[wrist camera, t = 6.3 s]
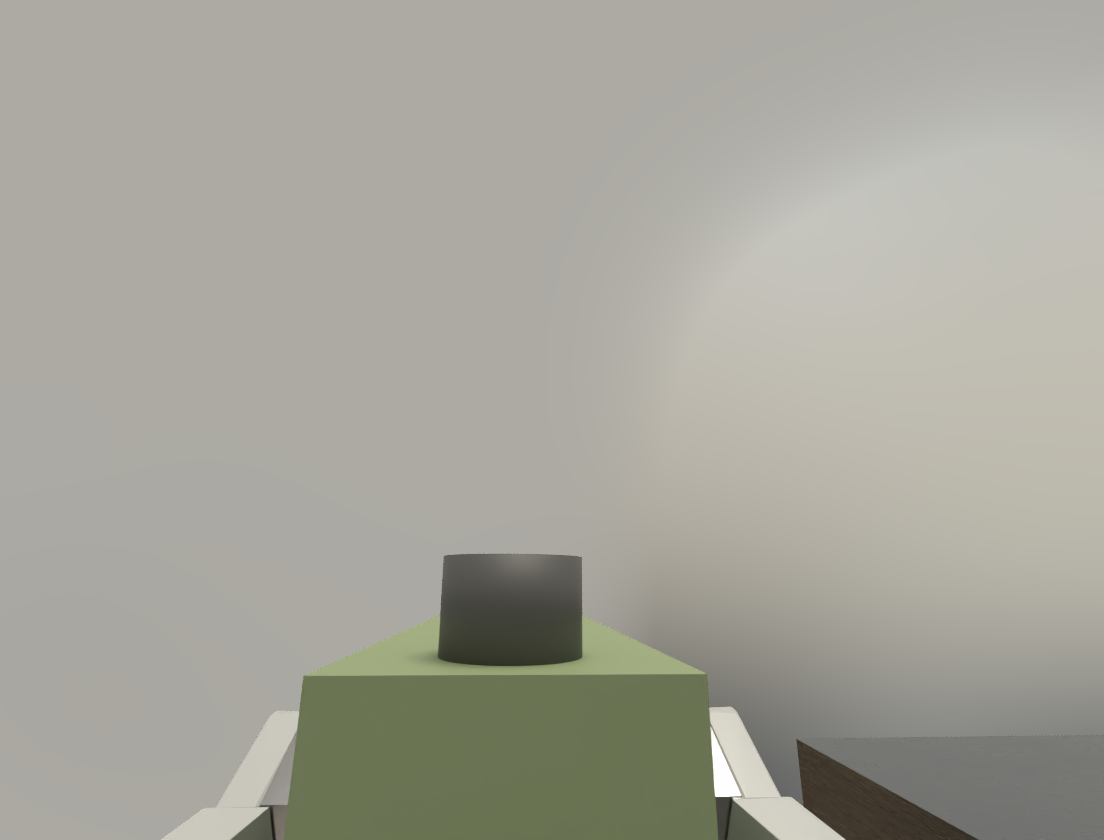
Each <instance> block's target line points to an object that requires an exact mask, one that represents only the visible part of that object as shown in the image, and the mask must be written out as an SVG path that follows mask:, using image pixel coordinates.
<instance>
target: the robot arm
mask: <svg viewBox="0 0 1104 840" xmlns="http://www.w3.org/2000/svg"><path fill="white" fill-rule="evenodd" d="M709 710H710V725H711V740H712V754H713V769H714V783H715V798H716V813H717V827H718V840H845V839H844V838H843V837H842V836H840V835H839V834H838V833H836V832H835V831H834V830H833V829H831V828H830V827H829V826H828V825H826V824H825V823H824V822H822V821H821V820H820V819H819V818H817V817H816V816H815V815H813V814H812V813H811V812H810V811H808V810H807V809H806V808H804V807H803V806H802V805H801V804H799V803H798V802H797V801H796V800H794V799H793V798H792V797H781V796H780V794H779V792H778V790H777V788H776V786H775V785H774V782H773V780H772V779H771V777H770V775H769V773H768V771H767V769H766V767H765V765H764V763H763V761H762V759H761V757H760V755H759V754H758V752H757V750H756V748H755V746H754V744H753V742H752V740H751V738H750V736H749V734H748V733H747V731H746V729H745V727H744V725H743V723H742V721H741V719H740V717H739V715H738V713H737V711H735V710H734V709H733V708H732V707H713V708H709ZM298 718H299V711H276V712H275V713H274V714H272V715H271V716H270V717H269V718H268V719H267V721H266V723H265V724H264V726H263V728H262V729H261V731H260V733H259V734H258V736H257V738H256V740H255V741H254V743H253V744H252V746H251V748H250V749H249V751H248V753H247V755H246V756H245V758H244V760H243V761H242V763H241V765H240V767H239V768H238V770H237V772H236V773H235V775H234V776H233V778H232V780H231V782H230V783H229V785H228V787H227V788H226V790H225V792H224V793H223V795H222V797H221V799H220V800H219V802H218V804H217V805H216V807H215V808H203V809H202V810H201V811H199V812H198V813H197V814H195V815H194V816H192V817H191V818H190V819H188V820H187V821H186V822H184V823H183V824H182V825H180V826H179V827H178V828H176V829H175V830H173V831H172V832H171V833H169V834H168V835H167V836H165V837H164V838H162V839H161V840H283V839H284V831H285V823H286V815H287V807H288V798H289V790H290V782H291V774H292V766H293V758H294V750H295V742H296V734H297V726H298Z"/></svg>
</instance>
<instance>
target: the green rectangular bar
mask: <svg viewBox="0 0 1104 840" xmlns="http://www.w3.org/2000/svg"><path fill="white" fill-rule="evenodd" d="M283 840H718V827H717V813H716V798H715V783H714V769H713V754H712V740H711V725H710V710H709V696H708V682H707V674H706V673H703V672H702V671H699V670H697V669H695V668H693V667H691V666H689V665H687V664H685V663H683V662H680V661H678V660H676V659H674V658H672V657H670V656H668V655H666V654H663V653H662V652H659V651H657V650H655V649H653V648H651V647H649V646H647V645H644V644H642V643H640V642H638V641H636V640H634V639H632V638H630V637H628V636H626V635H624V634H621V633H619V632H617V631H615V630H613V629H611V628H609V627H607V626H604V625H603V624H600V623H598V622H596V621H594V620H592V619H590V618H588V617H586V616H584V615H582V558H581V557H577V556H564V555H542V554H539V555H538V554H460V555H447V556H444V563H443V579H442V595H441V612H440V615H439V616H437V617H435V618H433V619H430V620H428V621H426V622H424V623H421V624H420V625H417V626H415V627H413V628H410V629H408V630H406V631H403V632H401V633H399V634H397V635H394V636H392V637H390V638H388V639H385V640H383V641H381V642H379V643H376V644H374V645H372V646H370V647H368V648H365V649H363V650H361V651H358V652H356V653H354V654H352V655H350V656H347V657H345V658H343V659H340V660H338V661H336V662H334V663H331V664H329V665H327V666H325V667H322V668H320V669H318V670H316V671H313V672H311V673H309V674H307V675H304V677H303V685H302V693H301V702H300V710H299V718H298V726H297V734H296V742H295V750H294V758H293V766H292V774H291V782H290V790H289V798H288V807H287V815H286V823H285V831H284V839H283Z"/></svg>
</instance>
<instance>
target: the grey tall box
mask: <svg viewBox="0 0 1104 840" xmlns="http://www.w3.org/2000/svg"><path fill="white" fill-rule="evenodd" d="M796 740H797V749H798V758H799V767H800V777H801V786H802V795H803V805H804V808H806V809H807V810H808V811H810V812H811V813H812V814H813V815H815V816H816V817H817V818H819V819H820V820H821V821H822V822H824V823H825V824H826V825H828V826H829V827H830V828H831V829H833V830H834V831H835V832H836V833H838V834H839V835H840V836H842V837H843V838H844V839H845V840H1104V735H1081V736H1080V735H1077V736H1076V735H1075V736H997V737H996V736H993V737H992V736H991V737H990V736H989V737H911V738H910V737H909V738H826V739H825V738H824V739H823V738H822V739H796Z"/></svg>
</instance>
